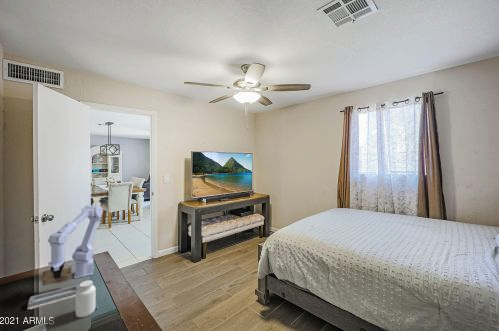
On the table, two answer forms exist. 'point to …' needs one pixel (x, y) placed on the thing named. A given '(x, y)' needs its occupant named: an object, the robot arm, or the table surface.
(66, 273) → the door panel
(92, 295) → the pill bottle
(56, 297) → the track
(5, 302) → the table surface
